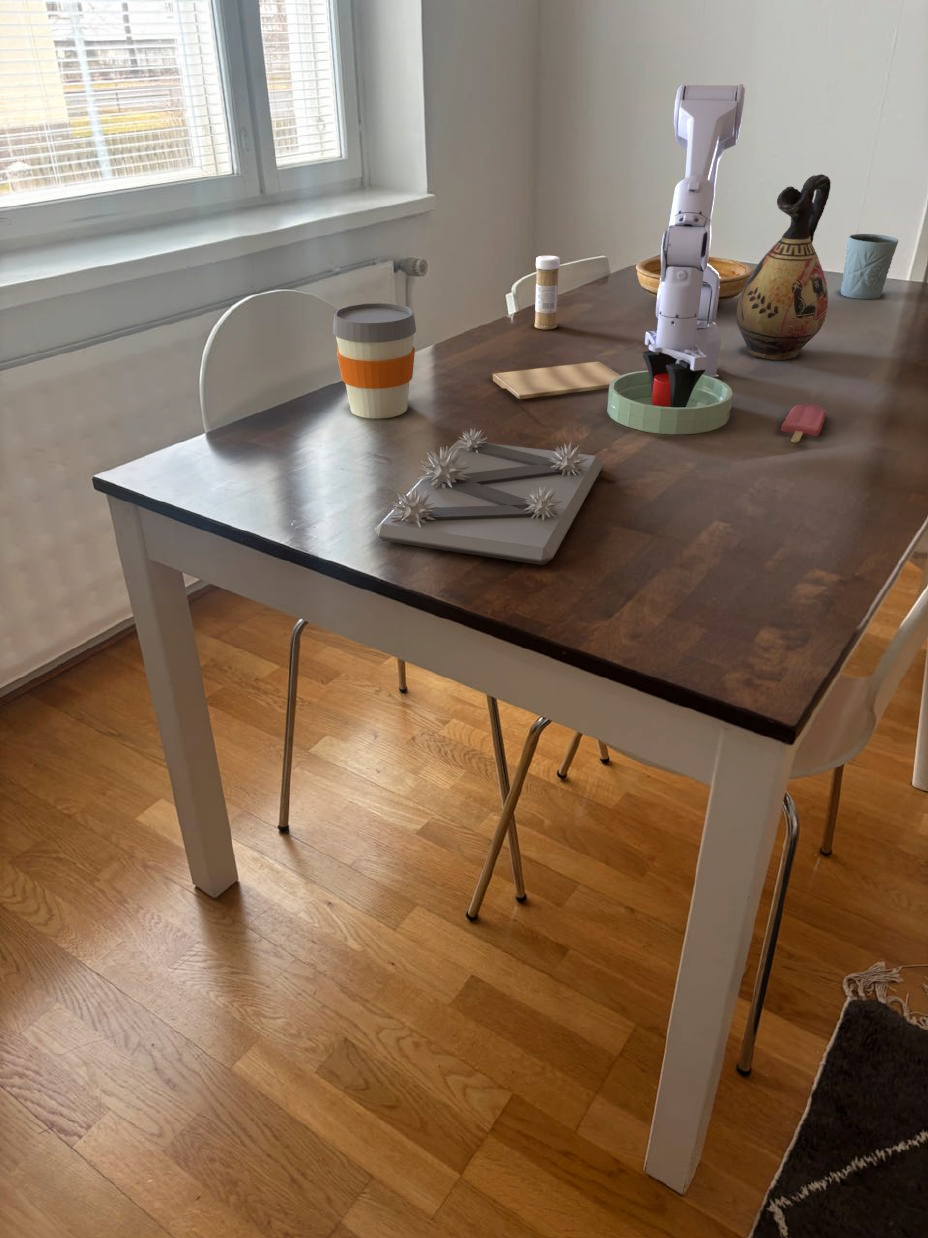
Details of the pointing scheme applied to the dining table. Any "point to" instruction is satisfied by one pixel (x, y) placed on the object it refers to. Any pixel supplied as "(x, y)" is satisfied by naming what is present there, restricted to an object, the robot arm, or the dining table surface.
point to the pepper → (661, 390)
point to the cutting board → (556, 379)
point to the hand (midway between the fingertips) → (668, 403)
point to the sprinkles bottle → (546, 292)
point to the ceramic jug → (787, 281)
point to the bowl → (636, 411)
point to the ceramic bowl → (730, 281)
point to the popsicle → (804, 421)
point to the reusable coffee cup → (376, 356)
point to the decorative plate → (493, 500)
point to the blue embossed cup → (867, 265)
